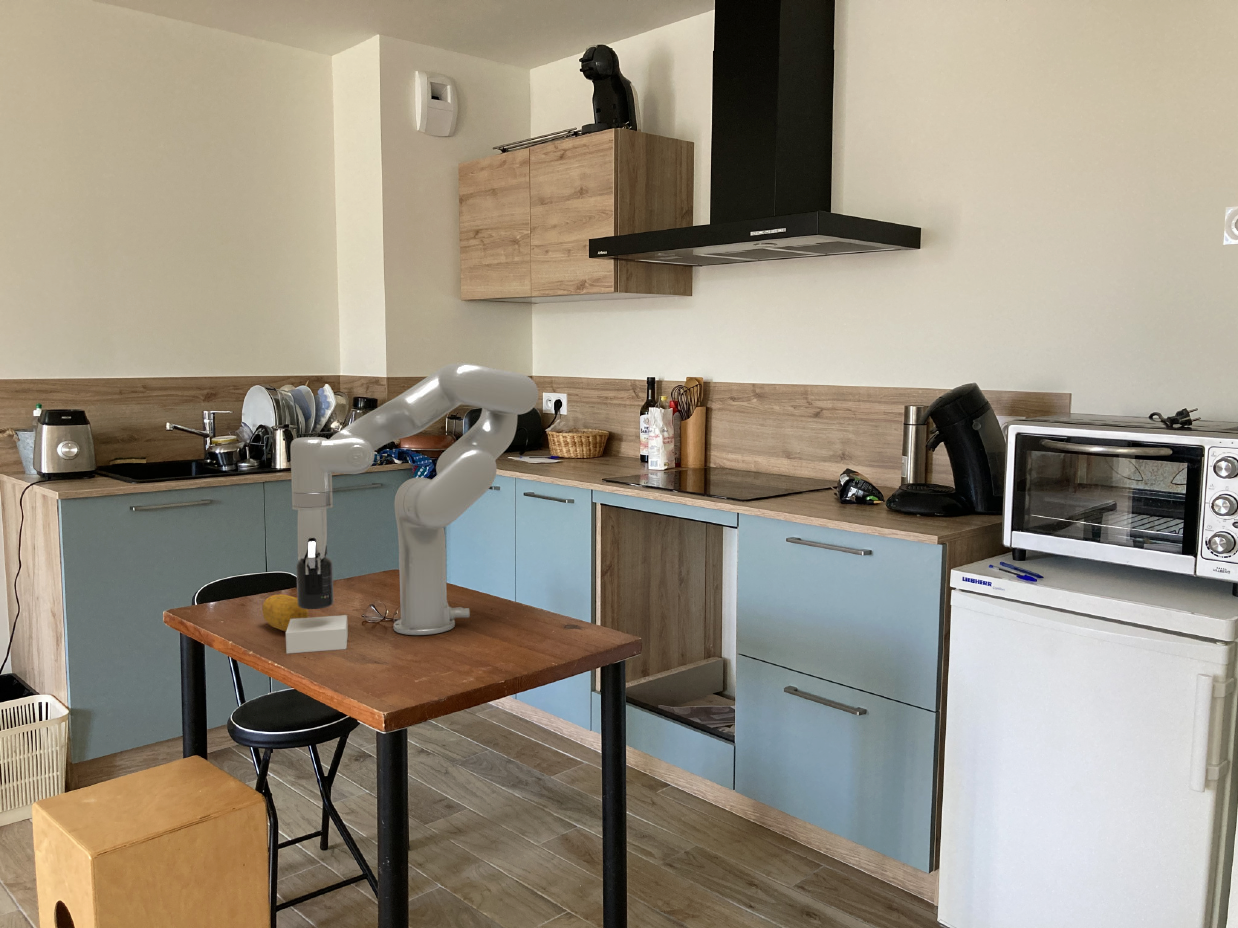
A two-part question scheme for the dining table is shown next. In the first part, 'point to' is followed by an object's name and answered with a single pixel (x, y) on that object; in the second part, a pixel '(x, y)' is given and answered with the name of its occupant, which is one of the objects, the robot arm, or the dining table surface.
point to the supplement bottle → (327, 581)
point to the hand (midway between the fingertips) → (315, 589)
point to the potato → (282, 611)
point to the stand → (316, 634)
